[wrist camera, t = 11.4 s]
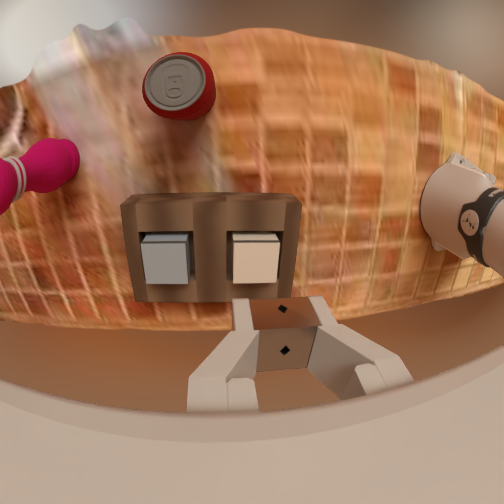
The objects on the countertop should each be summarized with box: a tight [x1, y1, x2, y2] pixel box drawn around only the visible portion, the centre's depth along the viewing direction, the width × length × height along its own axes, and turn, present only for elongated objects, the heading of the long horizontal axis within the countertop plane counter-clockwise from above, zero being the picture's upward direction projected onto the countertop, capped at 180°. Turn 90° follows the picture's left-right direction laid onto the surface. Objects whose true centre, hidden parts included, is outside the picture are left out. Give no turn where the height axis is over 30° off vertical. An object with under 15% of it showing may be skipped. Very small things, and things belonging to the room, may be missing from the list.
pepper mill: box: [0, 138, 80, 215], centre depth 22 cm, size 7×7×20 cm
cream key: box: [231, 231, 280, 283], centre depth 36 cm, size 6×6×5 cm
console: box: [120, 193, 302, 302], centre depth 37 cm, size 22×14×5 cm, turn 88°
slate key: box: [141, 231, 191, 284], centre depth 34 cm, size 6×6×5 cm
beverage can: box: [142, 52, 216, 121], centre depth 25 cm, size 7×7×12 cm
